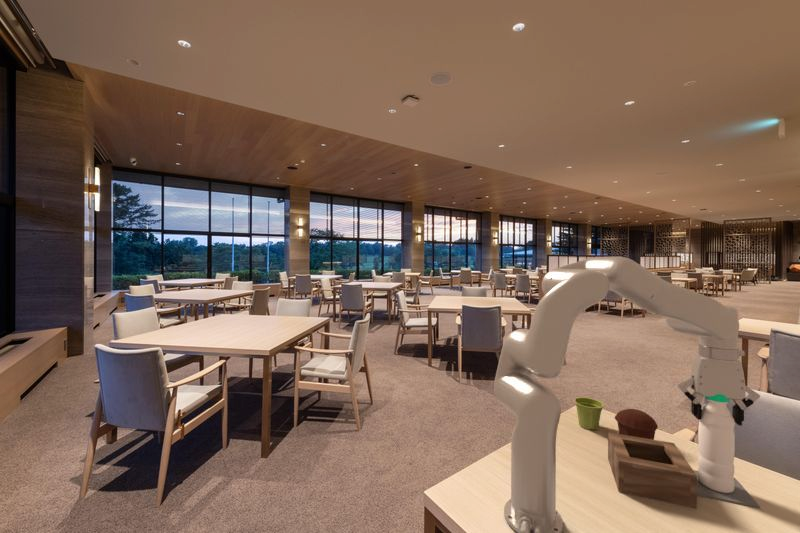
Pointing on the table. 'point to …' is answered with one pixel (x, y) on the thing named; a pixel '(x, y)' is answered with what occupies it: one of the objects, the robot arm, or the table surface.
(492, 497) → the table surface
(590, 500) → the table surface
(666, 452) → the slot box
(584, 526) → the table surface
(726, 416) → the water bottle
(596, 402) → the plant pot
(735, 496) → the mat
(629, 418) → the muffin
